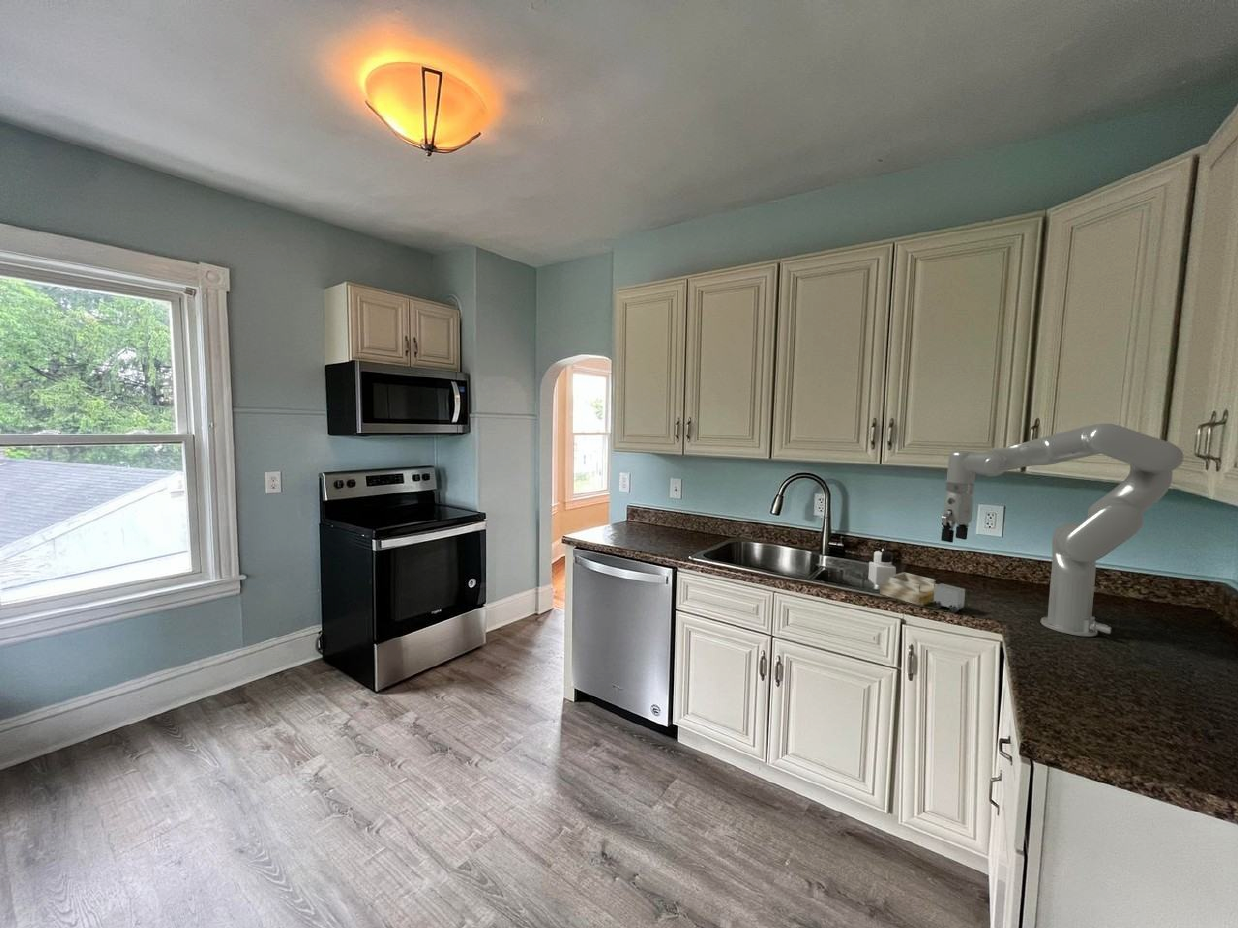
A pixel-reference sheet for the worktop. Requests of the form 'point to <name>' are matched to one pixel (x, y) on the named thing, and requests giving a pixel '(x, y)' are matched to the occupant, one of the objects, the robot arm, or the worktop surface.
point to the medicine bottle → (881, 568)
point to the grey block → (949, 597)
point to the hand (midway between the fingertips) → (954, 540)
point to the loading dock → (909, 588)
